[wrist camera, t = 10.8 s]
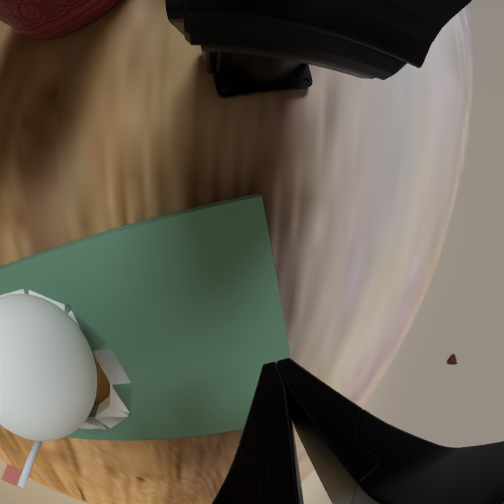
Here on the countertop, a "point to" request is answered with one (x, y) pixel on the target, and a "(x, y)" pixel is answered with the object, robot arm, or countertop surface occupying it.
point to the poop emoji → (452, 360)
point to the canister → (50, 16)
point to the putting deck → (167, 319)
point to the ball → (43, 369)
